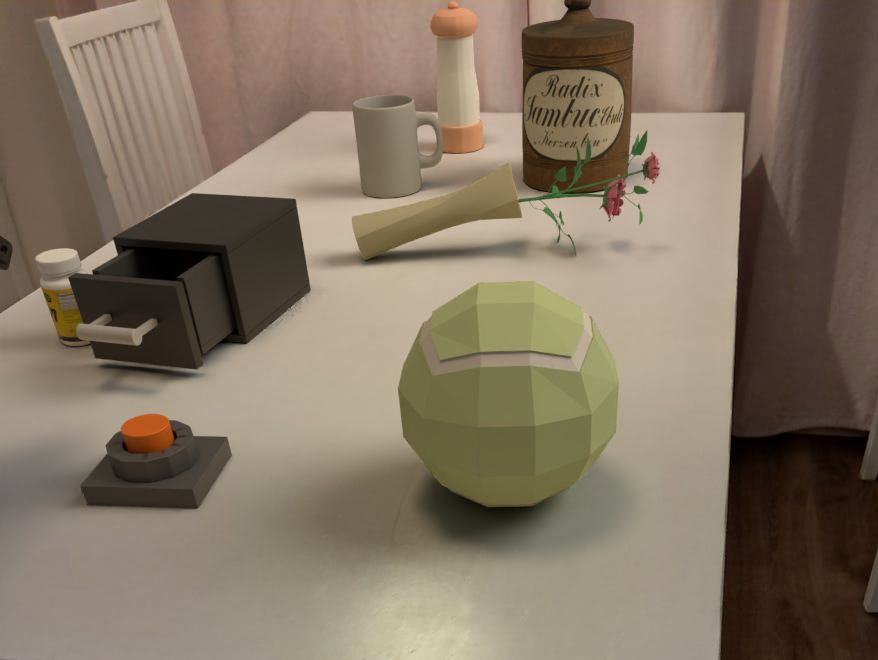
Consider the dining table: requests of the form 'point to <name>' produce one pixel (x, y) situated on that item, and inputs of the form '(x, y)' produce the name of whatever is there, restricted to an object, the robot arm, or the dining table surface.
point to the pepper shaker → (457, 79)
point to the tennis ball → (509, 394)
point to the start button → (147, 433)
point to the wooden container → (576, 98)
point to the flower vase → (485, 205)
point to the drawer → (155, 306)
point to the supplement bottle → (61, 291)
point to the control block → (158, 472)
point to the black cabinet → (236, 250)
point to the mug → (392, 145)
